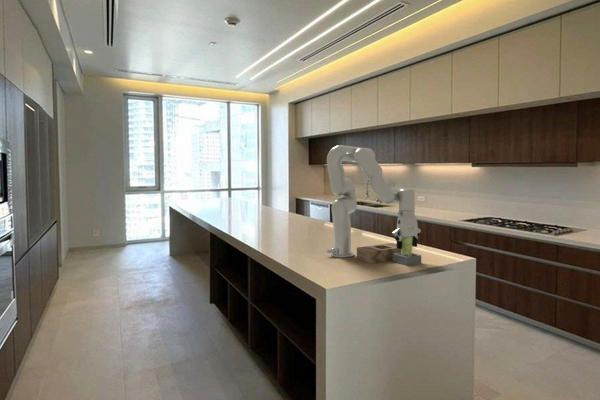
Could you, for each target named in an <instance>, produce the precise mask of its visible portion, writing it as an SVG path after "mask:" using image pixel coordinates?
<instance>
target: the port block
mask: <svg viewBox="0 0 600 400" xmlns="http://www.w3.org/2000/svg"><path fill="white" fill-rule="evenodd" d="M400 252H401V249H398V248H397V242H396V243H395V242H390V243H389V242H388V243H382V244H375V245H374V244H373V245H366V246H357V247H356V259H357V260H360V261H361V262H365V263H367V264H378V263H382V262H390V261H393V258H392V254H393V253H400Z"/></svg>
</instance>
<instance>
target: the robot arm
mask: <svg viewBox="0 0 600 400" xmlns="http://www.w3.org/2000/svg"><path fill="white" fill-rule="evenodd" d="M342 162H350V163H351V162H352V163H356V164H357V165H358V167H359V168H360V169H361V171H363V173H364V175H365V176H366V177H367V179H368V181H369V185H370V187H371V189H372V191H373V193H375V195H376V197H377V198H378V199H379V200H380V201H381V203H384V204H386V205H390V204H395V203H398V212H397V215H398V216H397V221H396V229H395V230H393V231H392V236H393V238H394V239H395V241H396V244H397V248H398V249H402V241H401V239H402V238H403V237H411V236H413V238H412V247H414V248H417V247H418V239H419V237H420V233H421V232H422V230H421V229H420V228H418V227H419V226H418V220H417V216H416V215H415V212H416V211H415V209H416V206H415V199H416V198H415V190H414V189H413V188H396V187H390V186H389V185H388V183H386V181H385V179H384V178H383V177H384V176H383V168H382V167H381V165H380V164H379V163H378V162H377V160H376V154H375V152H374V150H373V149H372V148H369V147H359V146H351V145H344V144H340V145H336V146H334V147H332V148H331V149H330V150H329V152H328V154H327V156H326V164H327V169H328V171H327V172H328V177H329V185H330V190H331V193H332V194H333V195H334V196H337V197H338V196H339V197H338V198H336V199H335V200H334V201H333V202H332V204H331V214H332V215H331V216H332V223H333V226H332V227H333V246H332V247H331V249H329V248H328V249H326V250H325V253H326V254H330V256H332V257H333V258H351V257H354V255H355V253H354V252H353V251H352V228H351V226H352V224H351V223H352V222H351V216H350V214H352V213H354V212H355V211H356V209H357V206H358V204H357V196H356V188H355V185H354V183H353V181H352V180H351V179H350V178H348V177H346V175H345V174H346V173H345V168H344V166H343V163H342Z"/></svg>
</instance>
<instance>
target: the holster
mask: <svg viewBox="0 0 600 400" xmlns="http://www.w3.org/2000/svg"><path fill="white" fill-rule="evenodd" d="M392 258H393V260H392V262H393V263H397V264H399V265H403V266H405V267H407V266H413V265H418V264H419V265H420V264H422V254H418V253H414V252H412V256H409V257H406V256H402V255H401V252H400V253H393V254H392Z"/></svg>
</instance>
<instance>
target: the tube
mask: <svg viewBox="0 0 600 400" xmlns="http://www.w3.org/2000/svg"><path fill="white" fill-rule="evenodd" d="M412 238H413V236H411V237H403V238H402V239H401V241H402V249H401V255H402V256H406V257H409V256H412V253H413V251H412V250H413V246H412Z"/></svg>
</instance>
